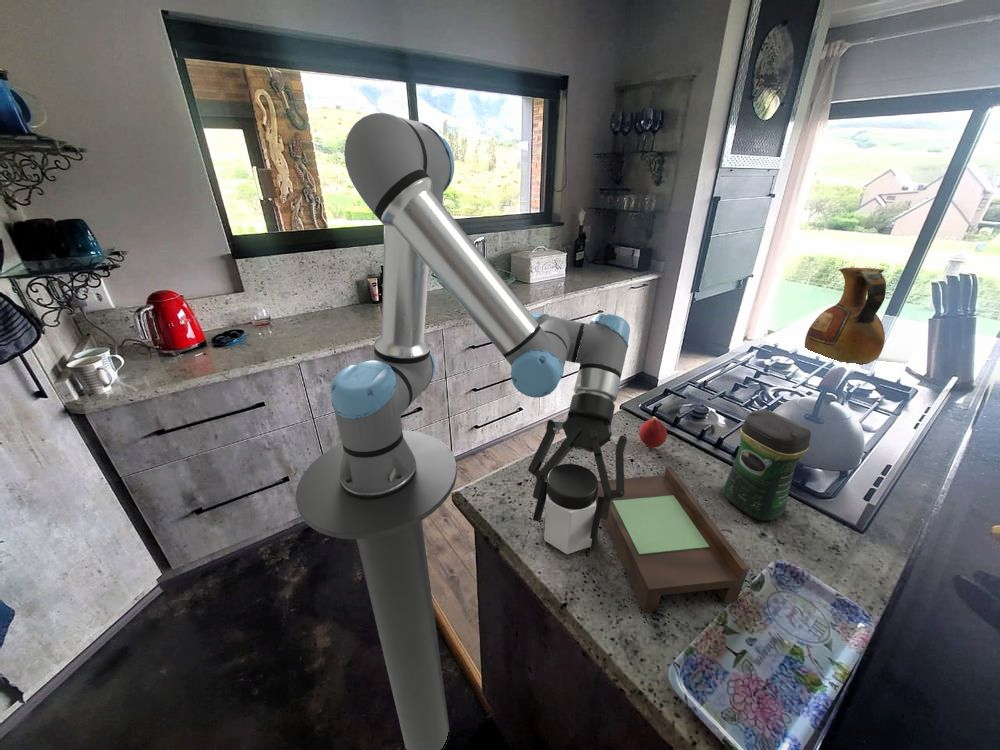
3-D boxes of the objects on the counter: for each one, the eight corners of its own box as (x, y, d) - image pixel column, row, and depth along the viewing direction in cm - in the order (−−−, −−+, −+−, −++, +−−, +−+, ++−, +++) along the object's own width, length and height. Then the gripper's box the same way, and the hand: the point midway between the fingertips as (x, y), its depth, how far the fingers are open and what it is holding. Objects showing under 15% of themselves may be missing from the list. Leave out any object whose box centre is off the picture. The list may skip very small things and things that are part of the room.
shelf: (594, 501, 76) (597, 472, 73) (664, 495, 78) (671, 466, 75) (643, 612, 57) (651, 579, 54) (736, 602, 58) (749, 568, 55)
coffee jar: (790, 514, 73) (825, 428, 65) (761, 528, 70) (793, 440, 62) (742, 481, 81) (768, 401, 73) (714, 492, 78) (737, 410, 70)
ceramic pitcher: (847, 348, 142) (882, 261, 128) (891, 373, 124) (937, 275, 110) (788, 347, 143) (816, 261, 130) (823, 371, 125) (860, 274, 112)
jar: (592, 558, 65) (600, 502, 60) (542, 551, 66) (544, 495, 61) (591, 517, 73) (597, 464, 68) (546, 511, 74) (549, 459, 69)
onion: (664, 443, 93) (670, 413, 89) (662, 457, 88) (669, 426, 85) (638, 437, 95) (643, 408, 91) (635, 451, 90) (640, 421, 87)
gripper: (656, 416, 71) (632, 550, 64) (540, 393, 78) (509, 511, 72) (659, 404, 64) (632, 552, 58) (532, 380, 72) (496, 509, 66)
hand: (564, 529), depth 65 cm, fingers closed on jar, 9 cm apart
